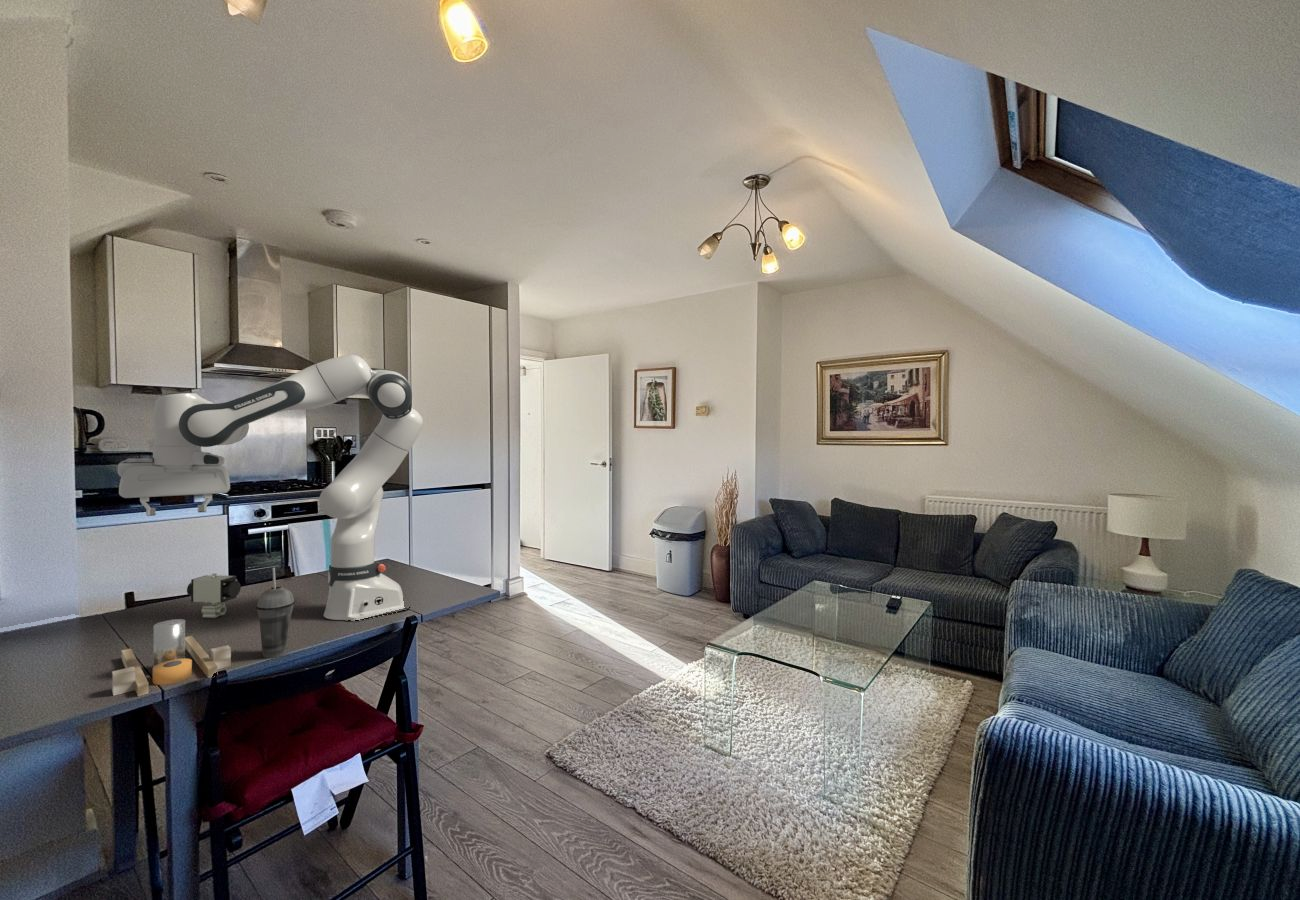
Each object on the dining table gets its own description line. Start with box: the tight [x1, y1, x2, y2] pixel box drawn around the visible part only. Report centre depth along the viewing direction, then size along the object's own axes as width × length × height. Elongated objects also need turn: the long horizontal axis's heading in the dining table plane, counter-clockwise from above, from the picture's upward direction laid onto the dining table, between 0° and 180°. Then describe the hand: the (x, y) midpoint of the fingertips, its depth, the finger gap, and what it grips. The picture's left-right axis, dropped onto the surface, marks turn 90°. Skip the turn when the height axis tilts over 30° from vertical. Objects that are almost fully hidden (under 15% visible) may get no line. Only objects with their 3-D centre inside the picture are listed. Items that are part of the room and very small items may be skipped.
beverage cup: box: [255, 567, 295, 659], centre depth 121 cm, size 7×7×20 cm
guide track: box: [111, 635, 232, 697], centre depth 113 cm, size 18×26×4 cm
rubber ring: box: [152, 657, 193, 686], centre depth 108 cm, size 6×6×3 cm
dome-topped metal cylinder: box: [153, 618, 186, 667], centre depth 112 cm, size 5×5×10 cm
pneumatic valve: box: [186, 573, 242, 619], centre depth 146 cm, size 6×12×12 cm, turn 89°
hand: (177, 513), depth 129 cm, fingers open, 8 cm apart
